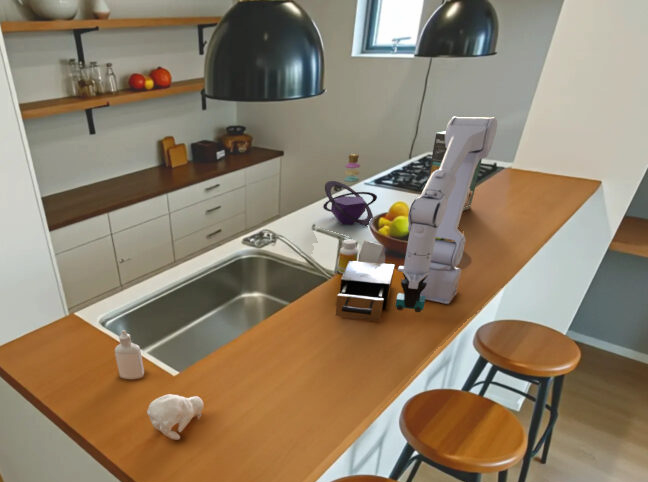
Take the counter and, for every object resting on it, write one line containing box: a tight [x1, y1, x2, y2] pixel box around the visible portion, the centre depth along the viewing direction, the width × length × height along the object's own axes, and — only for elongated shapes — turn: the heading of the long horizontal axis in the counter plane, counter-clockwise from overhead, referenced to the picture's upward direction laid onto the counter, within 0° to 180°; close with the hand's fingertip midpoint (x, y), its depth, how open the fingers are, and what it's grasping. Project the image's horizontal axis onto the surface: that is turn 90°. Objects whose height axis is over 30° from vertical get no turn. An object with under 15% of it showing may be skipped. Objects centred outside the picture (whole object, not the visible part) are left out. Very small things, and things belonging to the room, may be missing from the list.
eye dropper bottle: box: [114, 329, 145, 380], centre depth 107 cm, size 4×6×12 cm
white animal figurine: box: [146, 393, 205, 441], centre depth 92 cm, size 6×8×12 cm
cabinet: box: [339, 260, 396, 311], centre depth 133 cm, size 13×12×8 cm
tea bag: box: [357, 240, 386, 264], centre depth 144 cm, size 4×7×10 cm, turn 38°
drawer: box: [335, 282, 385, 322], centre depth 124 cm, size 17×11×6 cm, turn 157°
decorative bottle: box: [322, 153, 378, 226], centre depth 181 cm, size 22×21×25 cm
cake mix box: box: [426, 130, 483, 211], centre depth 182 cm, size 22×6×30 cm, turn 121°
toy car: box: [394, 292, 426, 314], centre depth 119 cm, size 6×4×5 cm, turn 67°
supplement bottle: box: [337, 238, 359, 275], centre depth 147 cm, size 5×5×10 cm
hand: (409, 303), depth 119 cm, fingers closed on toy car, 3 cm apart
